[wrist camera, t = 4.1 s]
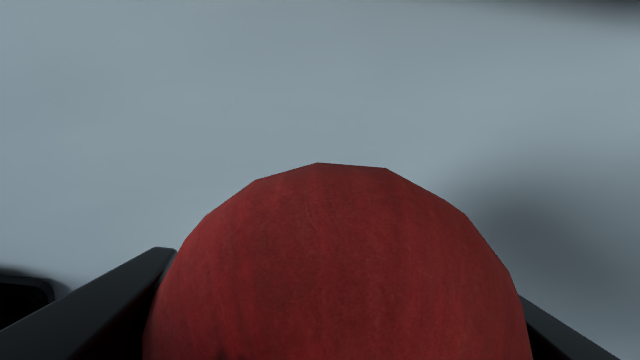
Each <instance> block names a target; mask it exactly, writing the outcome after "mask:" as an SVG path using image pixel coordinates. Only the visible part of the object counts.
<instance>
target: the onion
mask: <svg viewBox="0 0 640 360" xmlns="http://www.w3.org/2000/svg"><path fill="white" fill-rule="evenodd" d="M142 359H143V360H533V356H532V351H531V346H530V341H529V337H528V332H527V327H526V322H525V317H524V312H523V307H522V304H521V301H520V299H519V296H518V294H517V291H516V289H515V286H514V284H513V281H512V279H511V276H510V274H509V271H508V270H507V268H506V267H505V266H504V264H503V263H502V262H501V260H500V259H499V258H498V256H497V255H496V254H495V252H494V251H493V250H492V249H491V247H490V246H489V245H488V243H487V242H486V241H485V239H484V238H483V237H482V235H481V234H480V233H479V232H478V230H477V229H476V228H475V226H474V225H473V224H472V222H471V221H470V220H469V218H468V217H467V216H466V215H465V214H464V213H463V212H461V211H460V210H458V209H457V208H455V207H454V206H453V205H451V204H450V203H448V202H447V201H446V200H444V199H442V198H440V197H438V196H437V195H435V194H433V193H431V192H429V191H427V190H425V189H424V188H422V187H420V186H418V185H416V184H414V183H412V182H411V181H409V180H407V179H405V178H403V177H401V176H400V175H398V174H396V173H394V172H392V171H390V170H388V169H387V168H379V167H367V166H354V165H342V164H330V163H314V164H311V165H307V166H303V167H300V168H296V169H293V170H289V171H286V172H282V173H278V174H275V175H271V176H268V177H264V178H261V179H257V180H254V181H253V182H252V183H250V184H249V185H247V186H246V187H245V188H243V189H242V190H241V191H239V192H238V193H236V194H235V195H234V196H232V197H231V198H230V199H228V200H227V201H225V202H224V203H223V204H221V205H220V206H219V207H217V208H216V209H214V210H213V211H212V212H210V213H209V214H207V215H206V216H205V217H204V218H203V219H202V221H201V222H200V223H199V224H198V225H197V226H196V228H195V229H194V230H193V231H192V232H191V233H190V235H189V236H188V237H187V238H186V239H185V241H184V242H183V244H182V246H181V248H180V250H179V251H178V253H177V255H176V257H175V259H174V261H173V262H172V264H171V266H170V268H169V270H168V271H167V273H166V275H165V277H164V279H163V280H162V282H161V284H160V286H159V288H158V289H157V291H156V293H155V295H154V297H153V299H152V303H151V307H150V310H149V314H148V317H147V321H146V324H145V328H144V332H143V335H142Z"/></svg>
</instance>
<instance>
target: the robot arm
mask: <svg viewBox="0 0 640 360" xmlns="http://www.w3.org/2000/svg"><path fill="white" fill-rule="evenodd" d="M176 255H177V251H176V250H175V249H173V248H164V247H154V248H151V249H150V250H148V251H146V252H144V253H142V254H140V255H139V256H137V257H135V258H133V259H131V260H129V261H128V262H126V263H124V264H122V265H120V266H118V267H116V268H115V269H113V270H111V271H109V272H107V273H105V274H104V275H102V276H100V277H98V278H96V279H94V280H93V281H91V282H89V283H87V284H85V285H83V286H82V287H80V288H78V289H76V290H74V291H72V292H71V293H69V294H67V295H65V296H63V297H61V298H60V299H58V300H56V301H55V299H54V291H53V288H52V286H51V285H50V284H49V283H47V282H46V281H44V280H40V279H32V278H22V277H13V276H3V275H0V360H143V359H142V335H143V332H144V328H145V324H146V321H147V317H148V314H149V310H150V307H151V303H152V299H153V297H154V295H155V293H156V291H157V289H158V288H159V286H160V284H161V282H162V280H163V279H164V277H165V275H166V273H167V271H168V270H169V268H170V266H171V264H172V262H173V261H174V259H175V257H176ZM33 292H36V293H38V294H39V295H40V296H37V295H35V294H34V293H33ZM518 296H519V299H520V301H521V304H522V307H523V312H524V317H525V322H526V327H527V332H528V337H529V341H530V346H531V351H532V356H533V360H620V359H618V358H617V357H615V356H614V355H612V354H611V353H609V352H608V351H606V350H604V349H603V348H601V347H600V346H598V345H597V344H595V343H593V342H592V341H590V340H589V339H587V338H586V337H584V336H583V335H581V334H579V333H578V332H576V331H575V330H573V329H572V328H570V327H569V326H567V325H565V324H564V323H562V322H561V321H559V320H558V319H556V318H554V317H553V316H551V315H550V314H548V313H547V312H545V311H544V310H542V309H540V308H539V307H537V306H536V305H534V304H533V303H531V302H529V301H528V300H526V299H525V298H523V297H522V296H520V295H519V294H518Z"/></svg>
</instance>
